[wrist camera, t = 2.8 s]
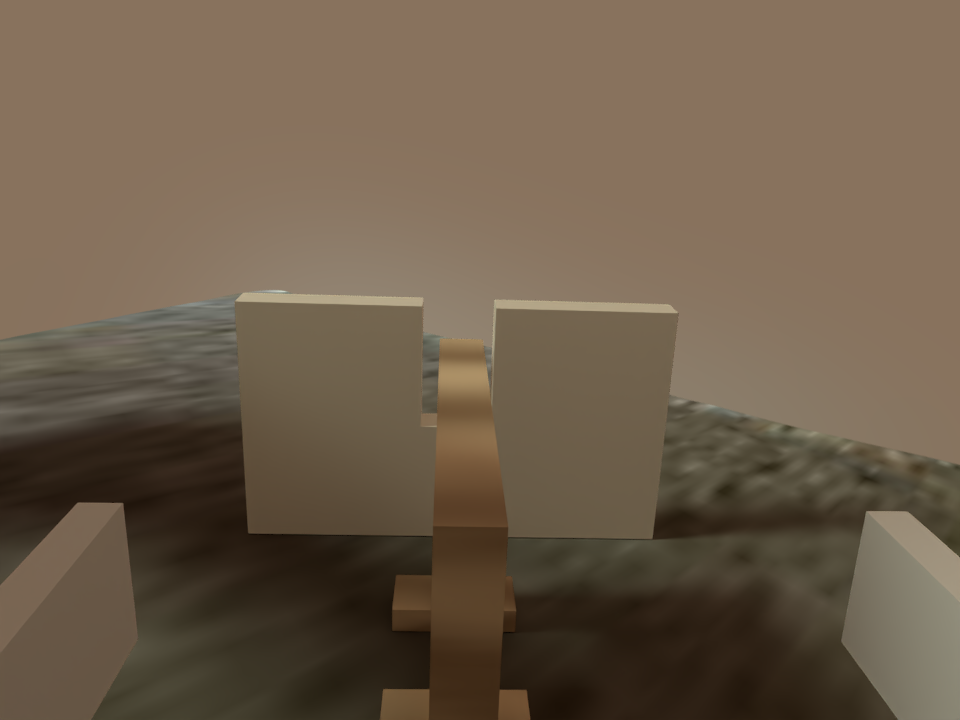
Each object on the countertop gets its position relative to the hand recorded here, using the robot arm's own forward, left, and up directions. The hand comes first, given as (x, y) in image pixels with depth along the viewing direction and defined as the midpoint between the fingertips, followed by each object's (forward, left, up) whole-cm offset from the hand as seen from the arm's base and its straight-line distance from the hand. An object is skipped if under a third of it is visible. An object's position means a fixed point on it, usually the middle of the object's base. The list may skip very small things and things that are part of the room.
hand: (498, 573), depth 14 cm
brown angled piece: (-12, +9, -17) cm, 23 cm away
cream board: (-25, +18, -17) cm, 35 cm away
